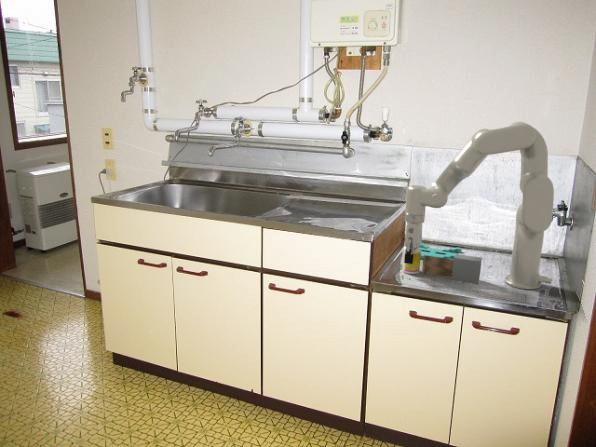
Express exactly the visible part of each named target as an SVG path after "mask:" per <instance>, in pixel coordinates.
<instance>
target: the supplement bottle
mask: <svg viewBox="0 0 596 447" xmlns="http://www.w3.org/2000/svg"><path fill="white" fill-rule="evenodd" d="M410 249H411V248H410ZM405 250H406V247H405V246H404V247H403V258H402V272H404V273H405V274H407V275H417V274H419V273H420V272H421V271H420V269H421V260H420V259H421V249H420V247H418V248H417V249H416V248H414V250H413V263H412V264H408V263H404V258H405ZM411 250H412V249H411Z"/></svg>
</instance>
